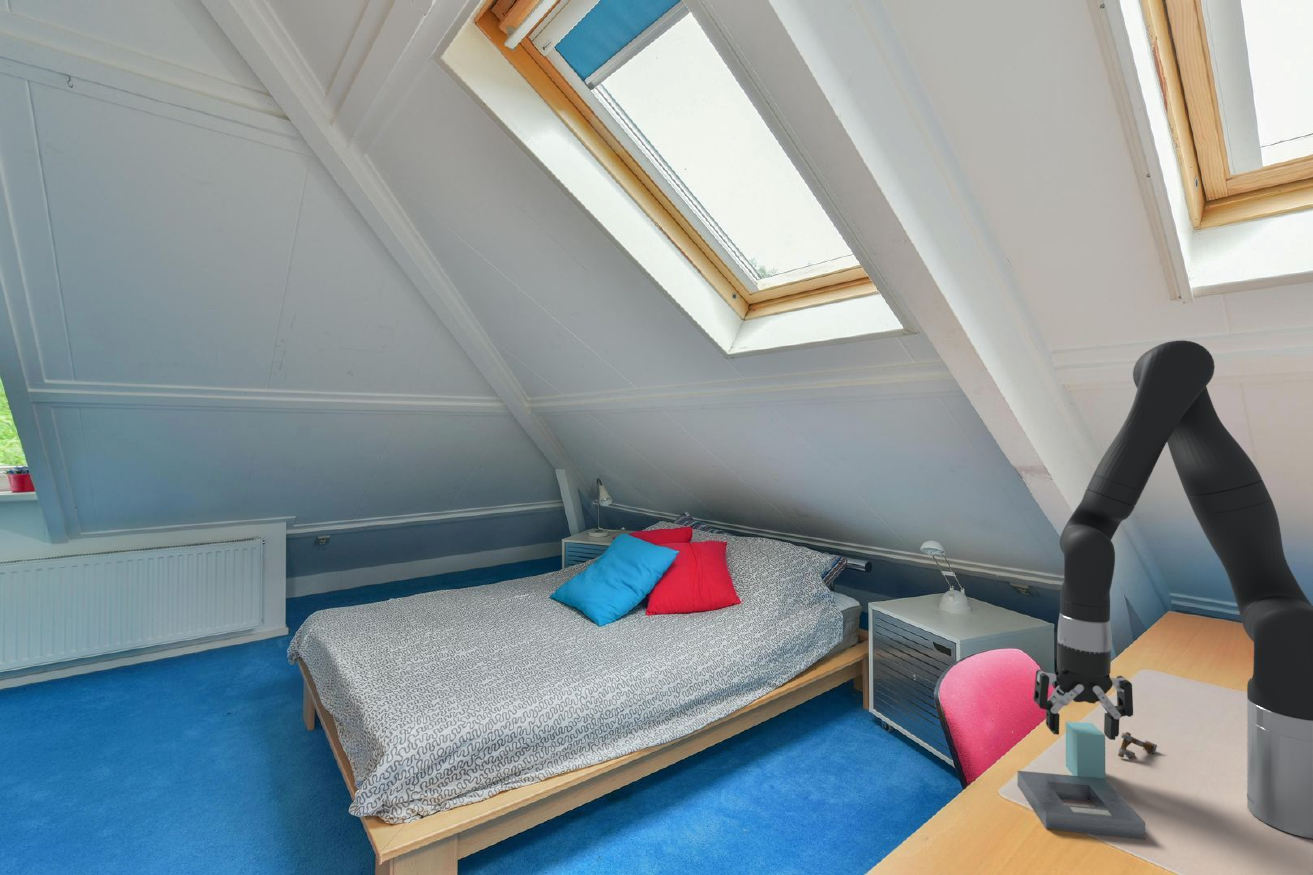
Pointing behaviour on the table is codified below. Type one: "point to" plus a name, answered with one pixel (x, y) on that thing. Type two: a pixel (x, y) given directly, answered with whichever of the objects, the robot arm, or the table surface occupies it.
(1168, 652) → the table surface
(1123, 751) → the brown piece
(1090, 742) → the teal peg
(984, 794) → the table surface
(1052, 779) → the rail plate
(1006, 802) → the table surface
